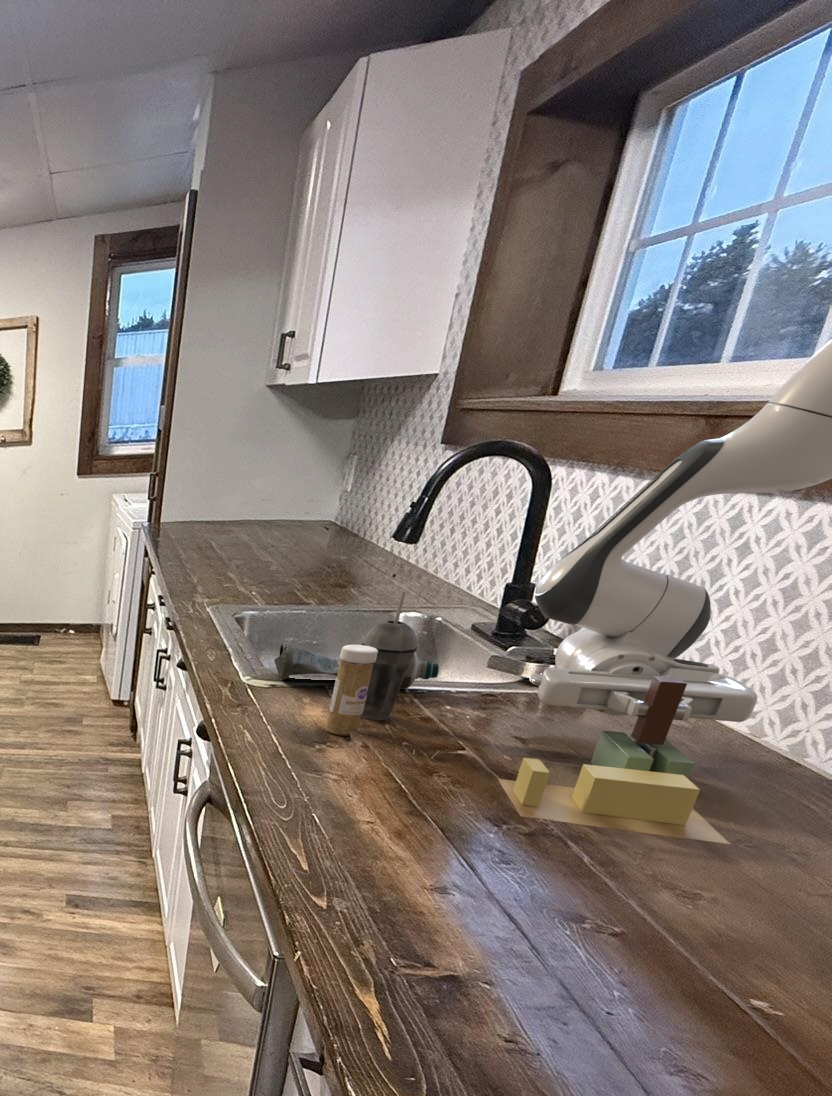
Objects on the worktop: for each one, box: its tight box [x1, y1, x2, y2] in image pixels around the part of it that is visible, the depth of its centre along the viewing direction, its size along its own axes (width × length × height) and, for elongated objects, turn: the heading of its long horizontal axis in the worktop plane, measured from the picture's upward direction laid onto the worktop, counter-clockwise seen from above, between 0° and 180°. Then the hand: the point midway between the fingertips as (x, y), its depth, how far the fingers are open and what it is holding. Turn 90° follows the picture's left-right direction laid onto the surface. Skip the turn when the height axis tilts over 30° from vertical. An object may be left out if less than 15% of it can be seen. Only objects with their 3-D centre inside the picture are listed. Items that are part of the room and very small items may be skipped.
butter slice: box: [513, 757, 551, 807], centre depth 100 cm, size 2×4×4 cm, turn 153°
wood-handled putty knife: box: [630, 676, 687, 758], centre depth 103 cm, size 2×5×14 cm, turn 153°
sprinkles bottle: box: [324, 644, 378, 737], centre depth 125 cm, size 5×5×13 cm
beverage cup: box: [361, 591, 418, 721], centre depth 130 cm, size 7×7×20 cm
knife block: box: [590, 730, 696, 780], centre depth 104 cm, size 6×10×6 cm, turn 153°
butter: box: [572, 763, 701, 825], centre depth 96 cm, size 9×4×4 cm, turn 63°
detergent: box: [273, 641, 440, 690], centre depth 148 cm, size 13×7×25 cm
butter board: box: [497, 778, 731, 845], centre depth 98 cm, size 18×12×2 cm, turn 63°
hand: (661, 712), depth 101 cm, fingers closed on wood-handled putty knife, 2 cm apart
